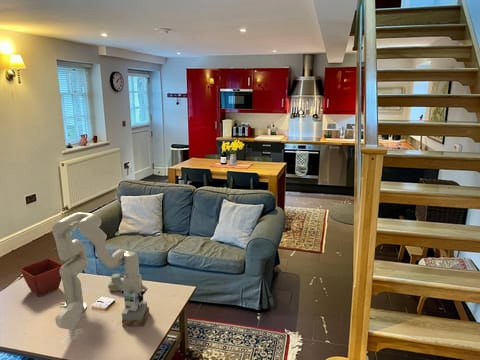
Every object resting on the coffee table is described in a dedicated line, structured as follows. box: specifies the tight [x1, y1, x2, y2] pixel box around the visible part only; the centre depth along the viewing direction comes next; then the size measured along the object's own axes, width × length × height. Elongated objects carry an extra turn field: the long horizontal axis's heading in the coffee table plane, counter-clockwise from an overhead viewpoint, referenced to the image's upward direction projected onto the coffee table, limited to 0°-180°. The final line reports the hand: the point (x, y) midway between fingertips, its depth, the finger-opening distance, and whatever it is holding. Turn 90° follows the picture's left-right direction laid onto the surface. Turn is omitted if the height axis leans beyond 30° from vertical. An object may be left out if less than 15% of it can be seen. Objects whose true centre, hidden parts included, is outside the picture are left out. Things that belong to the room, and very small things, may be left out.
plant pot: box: [20, 257, 64, 297], centre depth 239 cm, size 19×19×17 cm
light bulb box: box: [123, 289, 145, 311], centre depth 207 cm, size 11×7×11 cm, turn 170°
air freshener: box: [107, 273, 124, 292], centre depth 241 cm, size 11×8×10 cm
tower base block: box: [121, 306, 150, 328], centre depth 209 cm, size 12×13×4 cm
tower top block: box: [121, 301, 148, 321], centre depth 208 cm, size 11×12×4 cm
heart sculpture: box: [55, 302, 84, 346], centre depth 194 cm, size 16×5×18 cm, turn 163°
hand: (134, 300), depth 207 cm, fingers closed on light bulb box, 7 cm apart
